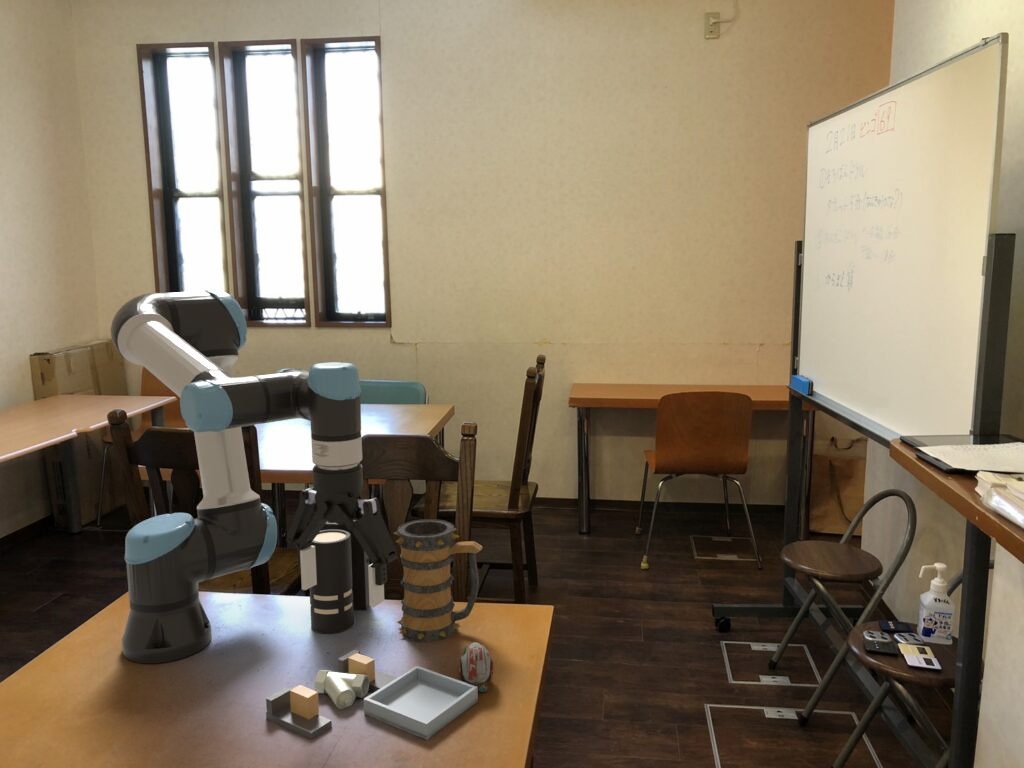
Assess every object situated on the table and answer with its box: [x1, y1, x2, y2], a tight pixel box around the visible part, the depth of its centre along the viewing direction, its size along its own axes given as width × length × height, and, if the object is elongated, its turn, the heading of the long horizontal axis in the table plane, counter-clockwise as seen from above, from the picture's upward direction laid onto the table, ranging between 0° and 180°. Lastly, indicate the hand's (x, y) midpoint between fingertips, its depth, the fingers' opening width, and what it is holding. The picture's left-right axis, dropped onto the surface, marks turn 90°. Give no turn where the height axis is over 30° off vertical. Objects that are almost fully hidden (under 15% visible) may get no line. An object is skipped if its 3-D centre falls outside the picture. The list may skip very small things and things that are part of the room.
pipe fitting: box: [314, 669, 370, 710], centre depth 132 cm, size 8×4×7 cm
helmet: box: [457, 641, 495, 693], centre depth 136 cm, size 6×8×7 cm
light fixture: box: [309, 519, 370, 635], centre depth 160 cm, size 10×14×18 cm
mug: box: [393, 518, 483, 642], centre depth 155 cm, size 13×17×20 cm
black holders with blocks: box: [265, 649, 397, 740], centre depth 131 cm, size 10×19×4 cm, turn 146°
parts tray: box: [363, 665, 479, 741], centre depth 129 cm, size 13×13×2 cm
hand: (342, 595), depth 129 cm, fingers open, 13 cm apart
